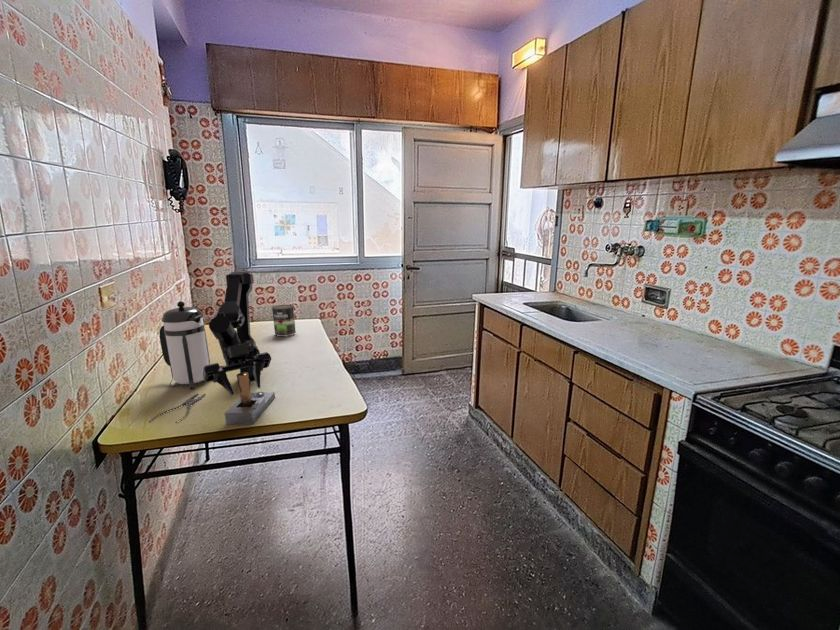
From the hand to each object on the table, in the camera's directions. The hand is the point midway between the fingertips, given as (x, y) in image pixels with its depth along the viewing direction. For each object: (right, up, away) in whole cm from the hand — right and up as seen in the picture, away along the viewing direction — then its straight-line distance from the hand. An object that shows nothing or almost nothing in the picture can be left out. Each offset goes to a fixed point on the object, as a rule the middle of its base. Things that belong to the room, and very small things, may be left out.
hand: (246, 391), depth 124 cm
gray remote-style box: (-1, -7, +6) cm, 9 cm away
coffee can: (-17, +13, +88) cm, 90 cm away
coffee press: (-32, -2, +29) cm, 43 cm away
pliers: (-25, -7, +8) cm, 27 cm away
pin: (-1, -8, +3) cm, 8 cm away
